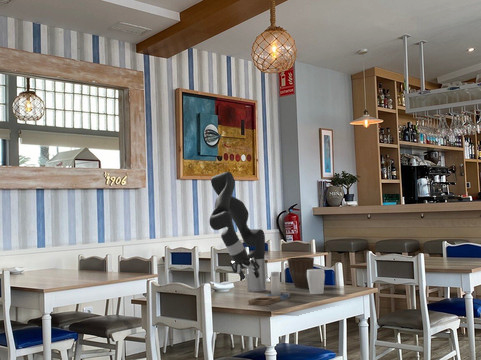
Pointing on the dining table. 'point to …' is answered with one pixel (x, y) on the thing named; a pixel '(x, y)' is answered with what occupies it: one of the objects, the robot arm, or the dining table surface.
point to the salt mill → (275, 284)
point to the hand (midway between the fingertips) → (251, 277)
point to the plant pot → (300, 270)
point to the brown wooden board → (268, 299)
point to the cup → (316, 280)
